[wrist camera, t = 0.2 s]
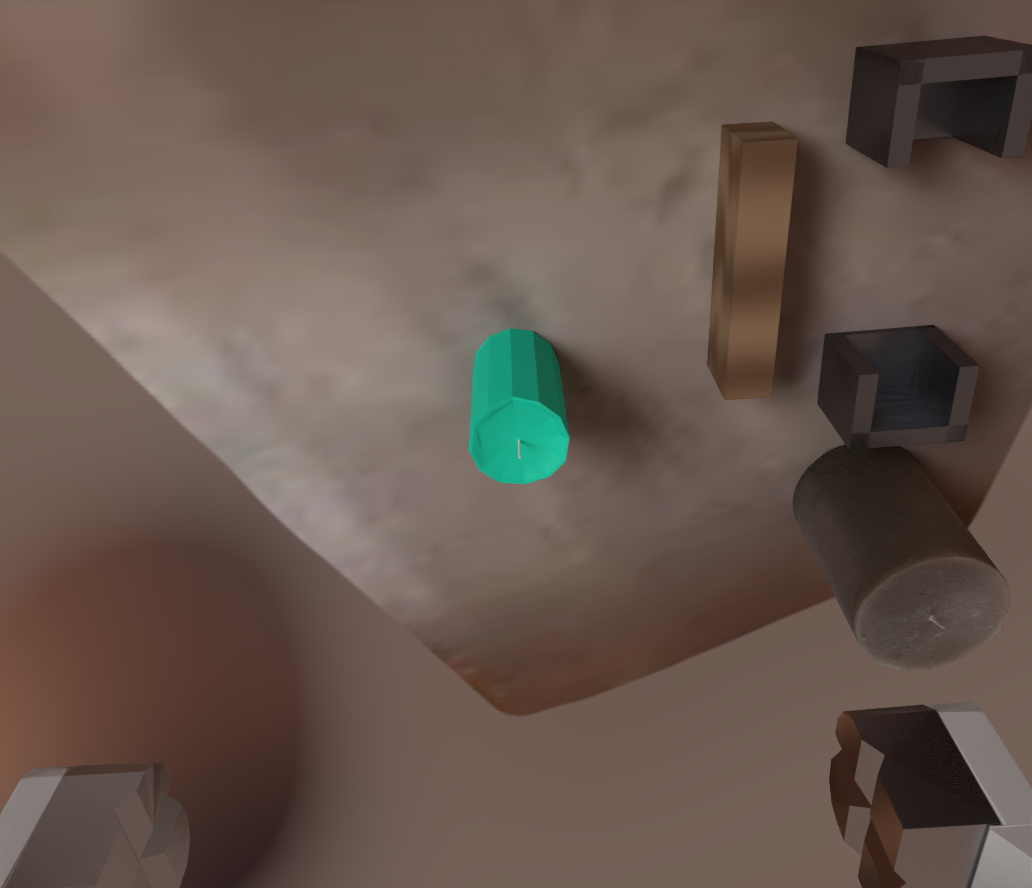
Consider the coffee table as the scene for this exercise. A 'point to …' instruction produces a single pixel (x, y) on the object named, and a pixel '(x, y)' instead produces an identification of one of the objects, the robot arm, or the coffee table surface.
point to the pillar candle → (898, 558)
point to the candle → (518, 408)
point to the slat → (750, 256)
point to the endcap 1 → (941, 96)
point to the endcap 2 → (896, 387)
